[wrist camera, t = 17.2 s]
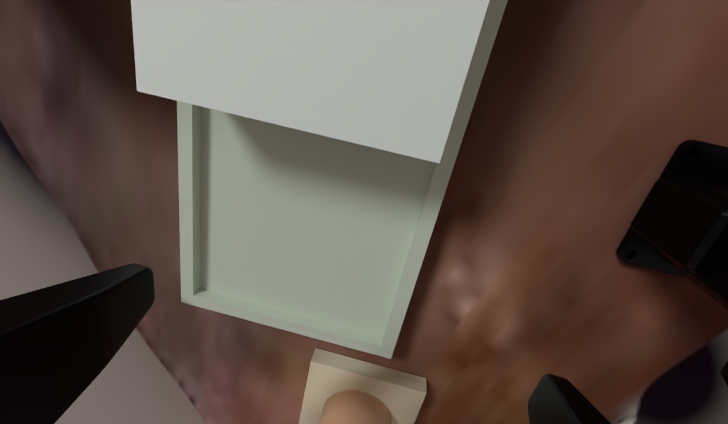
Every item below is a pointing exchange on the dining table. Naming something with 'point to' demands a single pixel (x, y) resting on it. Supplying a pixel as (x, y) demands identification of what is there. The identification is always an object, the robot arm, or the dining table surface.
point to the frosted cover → (316, 64)
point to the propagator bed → (311, 220)
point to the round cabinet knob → (354, 409)
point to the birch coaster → (361, 386)
